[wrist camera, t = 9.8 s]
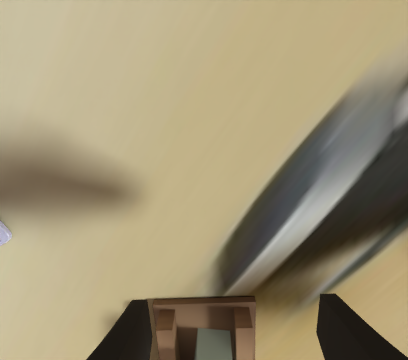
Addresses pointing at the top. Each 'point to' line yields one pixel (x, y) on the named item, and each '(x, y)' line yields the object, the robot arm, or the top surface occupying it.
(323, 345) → the robot arm
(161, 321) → the floor track
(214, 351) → the pale teal block
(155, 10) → the top surface
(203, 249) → the top surface
